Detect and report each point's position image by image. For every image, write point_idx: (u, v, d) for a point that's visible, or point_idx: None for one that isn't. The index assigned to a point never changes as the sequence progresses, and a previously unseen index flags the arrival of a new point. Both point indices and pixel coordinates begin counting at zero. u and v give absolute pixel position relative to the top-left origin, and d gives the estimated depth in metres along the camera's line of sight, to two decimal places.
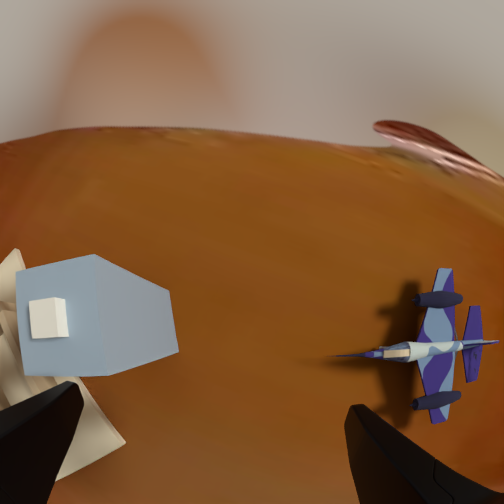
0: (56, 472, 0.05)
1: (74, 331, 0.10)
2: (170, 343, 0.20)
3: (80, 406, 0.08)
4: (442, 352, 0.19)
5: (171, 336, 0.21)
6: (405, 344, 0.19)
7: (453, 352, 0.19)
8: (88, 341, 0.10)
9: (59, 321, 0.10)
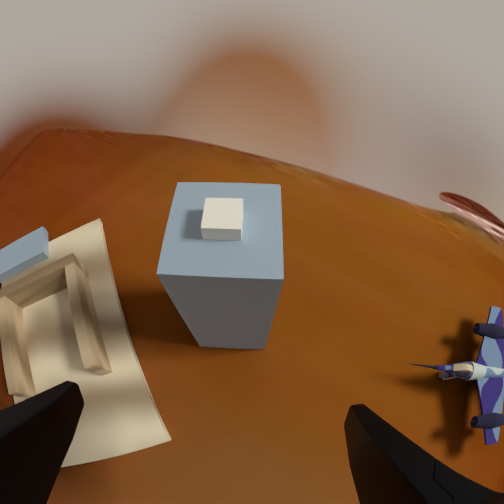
0: (56, 473, 0.05)
1: (250, 236, 0.12)
2: None
3: (80, 406, 0.08)
4: (495, 375, 0.17)
5: None
6: (469, 362, 0.18)
7: (503, 378, 0.17)
8: (265, 247, 0.12)
9: (241, 220, 0.12)
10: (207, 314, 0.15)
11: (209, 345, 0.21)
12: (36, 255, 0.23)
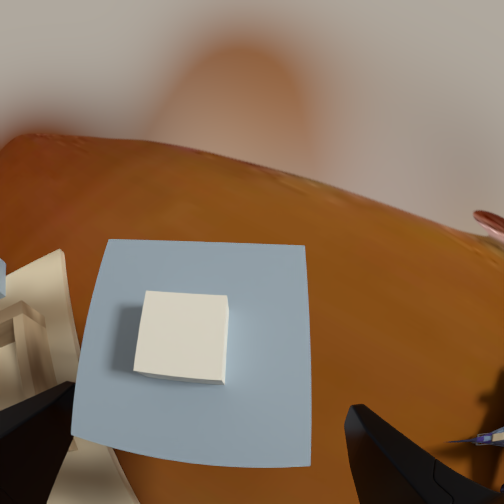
0: (56, 473, 0.05)
1: (243, 376, 0.05)
2: None
3: None
4: None
5: None
6: None
7: None
8: (274, 400, 0.05)
9: (224, 348, 0.05)
10: None
11: None
12: None
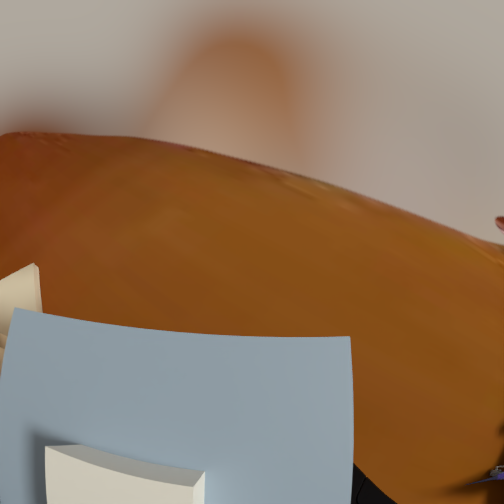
0: None
1: None
2: None
3: None
4: None
5: None
6: None
7: None
8: None
9: None
10: None
11: None
12: None
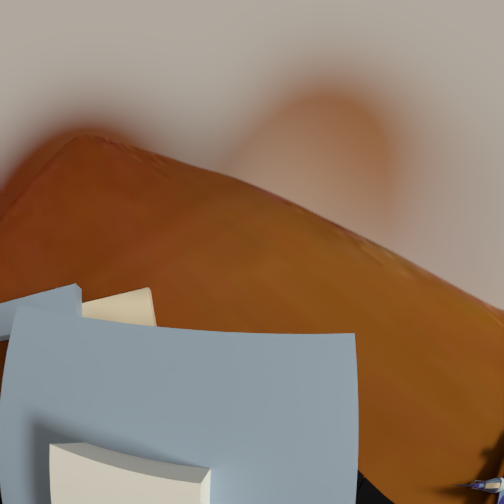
0: None
1: None
2: None
3: None
4: None
5: None
6: (498, 479, 0.12)
7: None
8: None
9: None
10: None
11: None
12: None
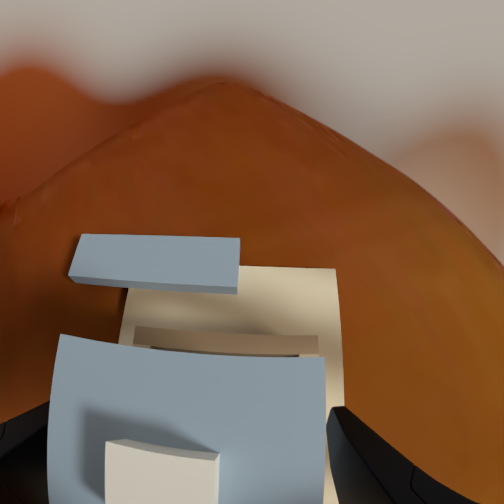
0: None
1: None
2: None
3: None
4: None
5: None
6: None
7: None
8: None
9: None
10: None
11: None
12: (220, 285, 0.18)
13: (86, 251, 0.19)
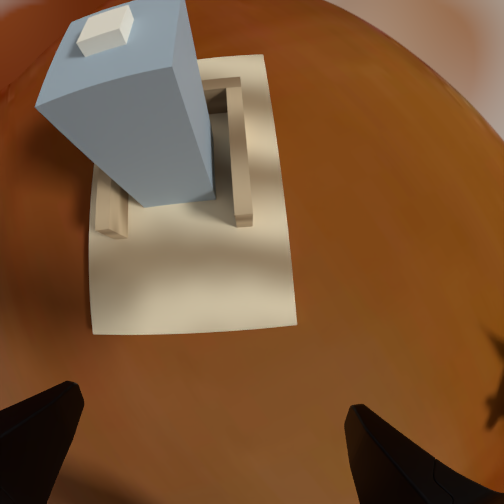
0: (56, 473, 0.05)
1: (137, 38, 0.07)
2: (211, 175, 0.17)
3: (80, 406, 0.08)
4: None
5: (212, 172, 0.18)
6: None
7: None
8: (153, 42, 0.07)
9: (125, 23, 0.07)
10: (119, 152, 0.11)
11: (153, 203, 0.19)
12: None
13: None
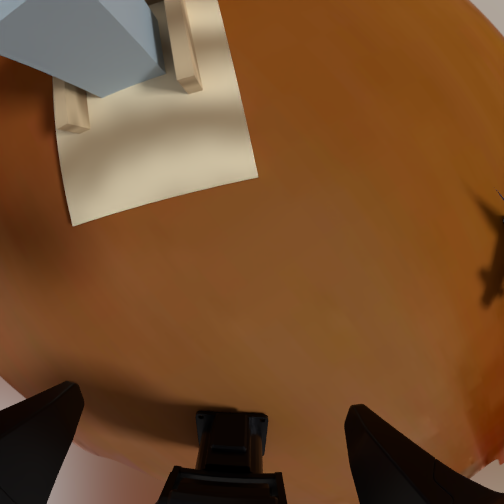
0: (56, 473, 0.05)
1: None
2: (154, 52, 0.14)
3: (80, 406, 0.08)
4: None
5: (157, 50, 0.15)
6: None
7: None
8: None
9: None
10: (56, 53, 0.09)
11: (107, 92, 0.16)
12: None
13: None
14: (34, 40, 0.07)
